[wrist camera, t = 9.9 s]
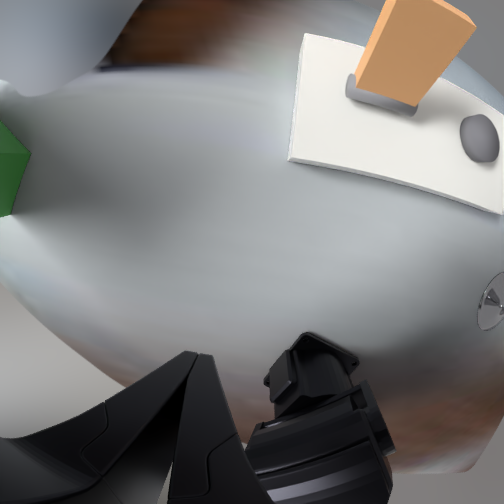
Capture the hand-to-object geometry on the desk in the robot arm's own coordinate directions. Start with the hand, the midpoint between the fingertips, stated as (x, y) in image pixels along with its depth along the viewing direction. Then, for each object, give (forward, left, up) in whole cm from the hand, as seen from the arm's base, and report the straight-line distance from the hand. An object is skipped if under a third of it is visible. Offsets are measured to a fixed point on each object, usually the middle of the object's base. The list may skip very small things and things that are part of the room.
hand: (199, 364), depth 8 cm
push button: (-10, -18, -10) cm, 23 cm away
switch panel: (-6, -16, -13) cm, 21 cm away
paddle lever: (-2, -14, -9) cm, 17 cm away
